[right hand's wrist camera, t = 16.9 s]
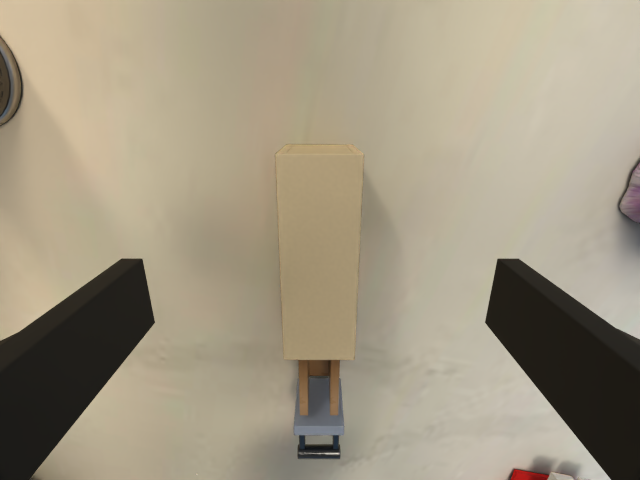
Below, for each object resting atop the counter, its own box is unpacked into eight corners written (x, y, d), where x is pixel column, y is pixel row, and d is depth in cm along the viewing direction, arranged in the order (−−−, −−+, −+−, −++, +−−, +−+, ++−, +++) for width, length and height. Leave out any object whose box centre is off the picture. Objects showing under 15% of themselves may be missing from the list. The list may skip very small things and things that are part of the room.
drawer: (339, 422, 41) (342, 475, 35) (298, 421, 41) (295, 475, 35) (344, 257, 34) (349, 288, 28) (294, 257, 34) (289, 288, 28)
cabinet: (347, 309, 37) (354, 360, 29) (291, 309, 37) (283, 360, 29) (353, 144, 31) (364, 154, 23) (286, 144, 31) (274, 153, 23)
